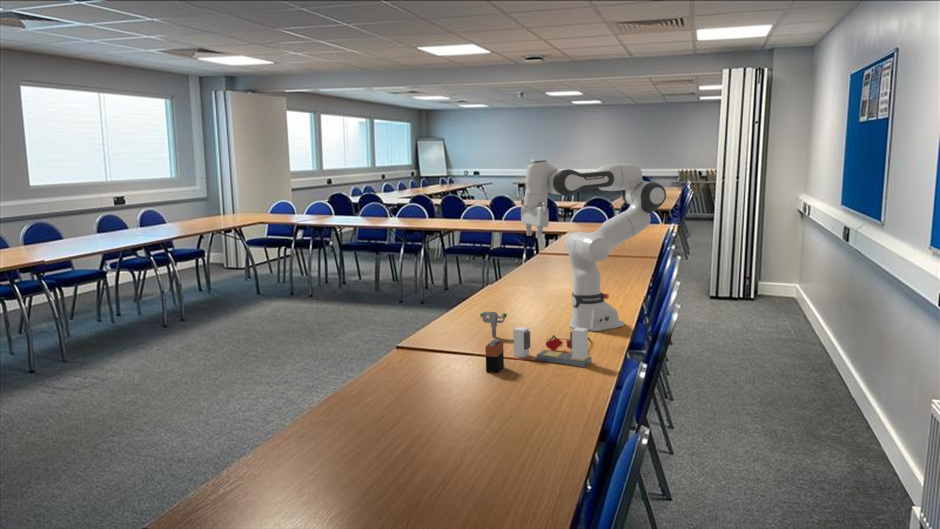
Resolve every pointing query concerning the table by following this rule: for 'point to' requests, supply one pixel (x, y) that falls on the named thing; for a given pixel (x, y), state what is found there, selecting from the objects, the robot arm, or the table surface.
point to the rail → (562, 358)
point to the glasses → (557, 343)
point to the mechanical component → (493, 320)
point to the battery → (494, 356)
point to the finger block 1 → (521, 341)
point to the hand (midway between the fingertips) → (533, 236)
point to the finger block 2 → (579, 343)
